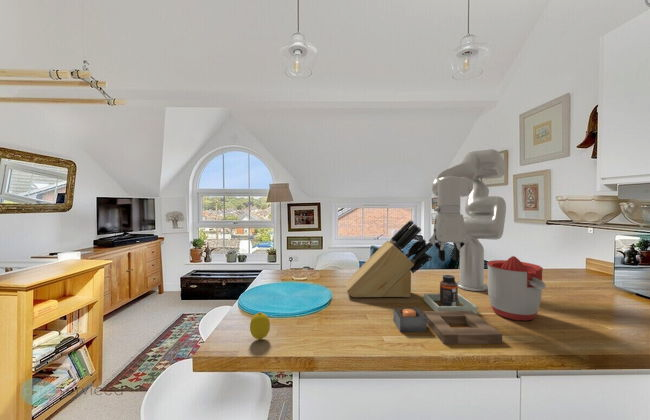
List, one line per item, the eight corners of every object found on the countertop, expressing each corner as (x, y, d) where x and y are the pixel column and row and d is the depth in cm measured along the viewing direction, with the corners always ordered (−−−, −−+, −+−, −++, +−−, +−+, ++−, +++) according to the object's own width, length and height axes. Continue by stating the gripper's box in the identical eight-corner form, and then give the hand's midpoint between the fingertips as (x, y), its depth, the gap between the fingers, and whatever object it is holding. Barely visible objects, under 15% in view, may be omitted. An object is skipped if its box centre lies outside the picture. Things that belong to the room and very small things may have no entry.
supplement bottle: (459, 310, 97) (459, 278, 96) (441, 309, 98) (441, 278, 98) (455, 304, 103) (455, 274, 102) (438, 303, 104) (438, 273, 103)
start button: (401, 321, 87) (401, 308, 87) (413, 321, 87) (413, 308, 87) (404, 326, 83) (404, 314, 83) (417, 326, 83) (417, 314, 83)
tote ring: (423, 299, 107) (423, 293, 107) (458, 299, 107) (458, 293, 107) (437, 314, 94) (437, 307, 93) (477, 314, 93) (477, 306, 93)
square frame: (422, 318, 90) (422, 311, 90) (471, 318, 90) (471, 310, 90) (443, 343, 74) (443, 334, 74) (502, 343, 74) (502, 334, 74)
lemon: (252, 335, 80) (251, 309, 80) (271, 334, 81) (270, 308, 81) (248, 345, 75) (247, 317, 75) (268, 344, 75) (268, 316, 75)
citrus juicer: (522, 330, 82) (523, 264, 81) (476, 308, 98) (476, 253, 98) (560, 323, 86) (561, 260, 85) (509, 303, 103) (510, 250, 102)
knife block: (434, 298, 109) (434, 221, 108) (346, 298, 110) (346, 222, 109) (424, 289, 120) (424, 219, 119) (345, 289, 121) (344, 220, 120)
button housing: (393, 320, 89) (393, 308, 89) (417, 319, 89) (417, 307, 89) (399, 331, 81) (399, 318, 81) (426, 331, 81) (426, 318, 81)
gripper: (429, 211, 95) (429, 263, 96) (477, 210, 95) (477, 262, 96) (422, 210, 103) (422, 258, 104) (466, 210, 103) (466, 258, 103)
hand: (448, 260), depth 100 cm, fingers open, 4 cm apart
